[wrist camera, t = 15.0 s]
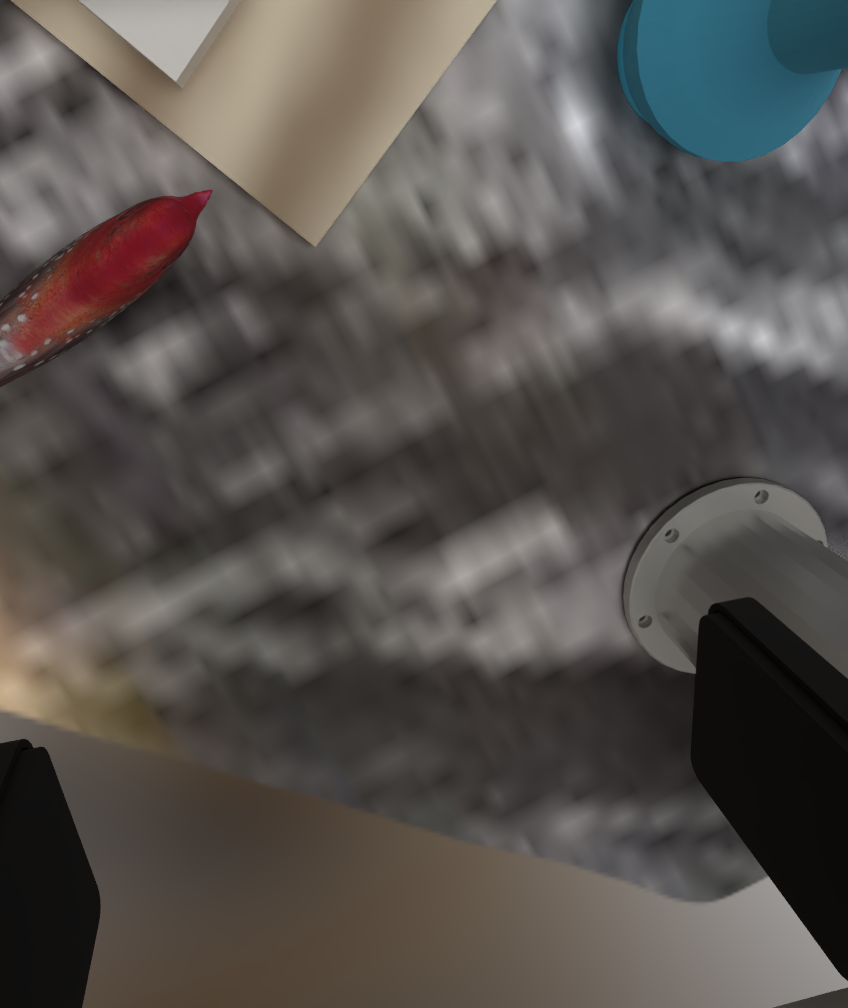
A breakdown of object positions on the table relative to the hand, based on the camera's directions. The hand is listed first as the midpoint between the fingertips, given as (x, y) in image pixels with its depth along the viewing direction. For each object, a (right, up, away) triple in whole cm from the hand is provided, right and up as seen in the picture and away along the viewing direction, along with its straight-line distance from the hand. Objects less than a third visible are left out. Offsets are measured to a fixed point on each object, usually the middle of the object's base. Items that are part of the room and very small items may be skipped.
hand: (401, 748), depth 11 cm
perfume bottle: (+12, +24, +24) cm, 36 cm away
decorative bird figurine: (-16, +12, +23) cm, 30 cm away
